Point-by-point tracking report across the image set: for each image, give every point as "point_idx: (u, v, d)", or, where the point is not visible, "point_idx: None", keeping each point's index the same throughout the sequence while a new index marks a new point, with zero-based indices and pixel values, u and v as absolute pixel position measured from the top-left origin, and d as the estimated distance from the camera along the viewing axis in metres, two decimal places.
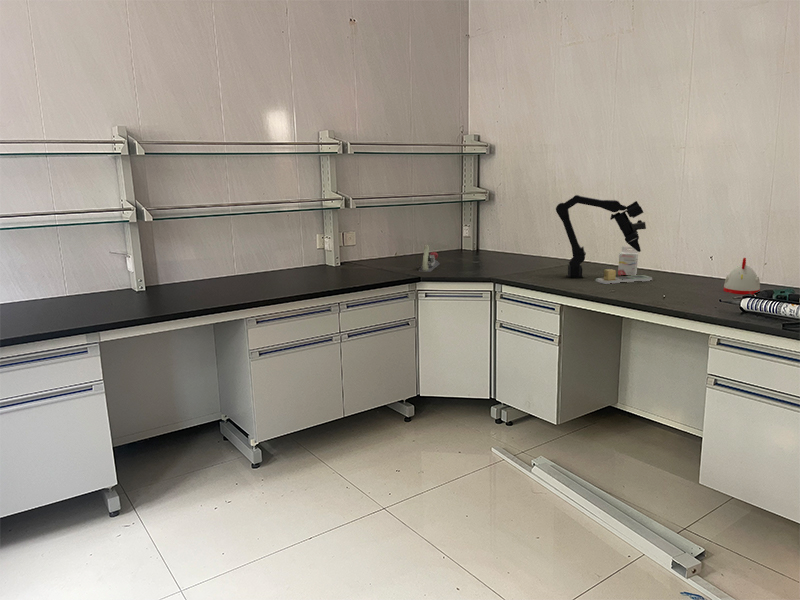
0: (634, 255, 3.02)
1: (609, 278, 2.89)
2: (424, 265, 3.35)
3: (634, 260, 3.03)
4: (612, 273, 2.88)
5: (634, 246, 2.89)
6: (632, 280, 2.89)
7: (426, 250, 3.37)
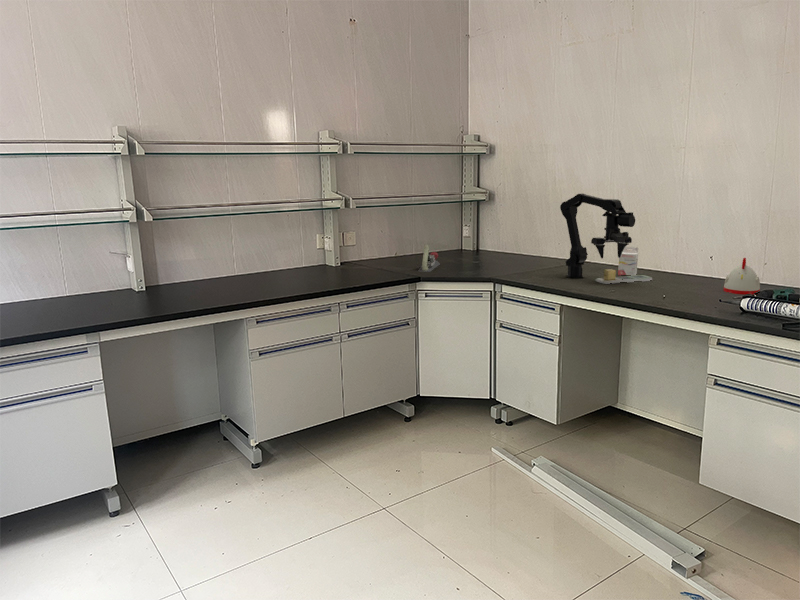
0: (634, 255, 3.02)
1: (609, 278, 2.89)
2: (424, 265, 3.34)
3: (634, 260, 3.03)
4: (612, 273, 2.88)
5: (599, 250, 2.88)
6: (632, 280, 2.89)
7: (426, 250, 3.37)
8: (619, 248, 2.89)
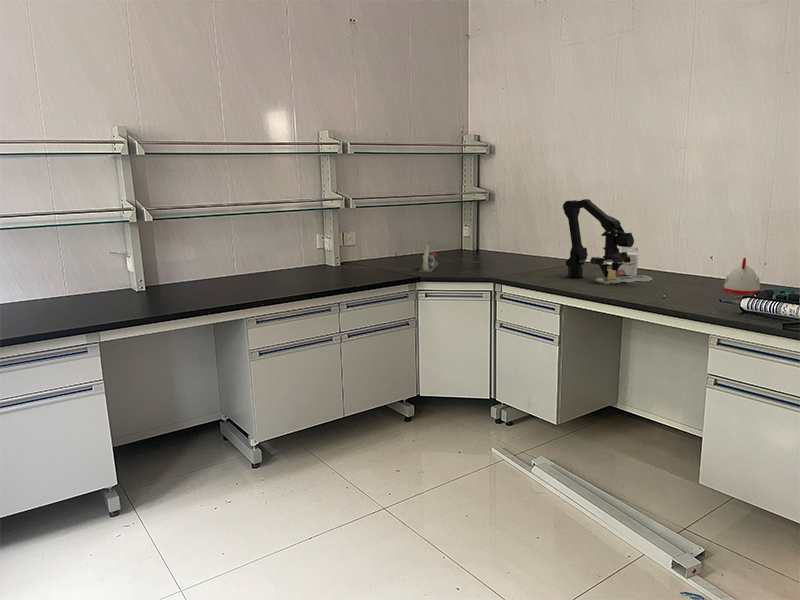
0: (634, 255, 3.02)
1: (609, 278, 2.89)
2: (424, 265, 3.34)
3: (634, 260, 3.03)
4: (612, 273, 2.88)
5: (602, 270, 2.90)
6: (632, 280, 2.89)
7: (426, 250, 3.36)
8: (614, 268, 2.91)
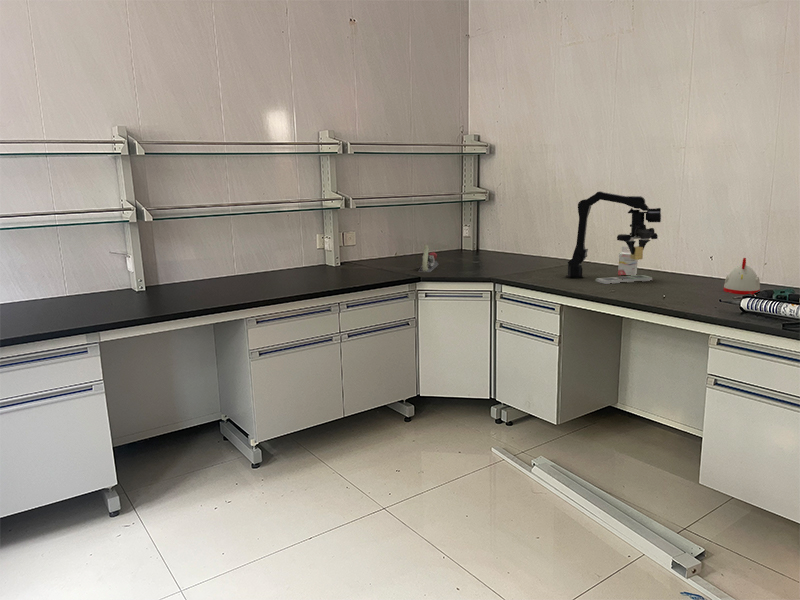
0: None
1: (636, 255, 2.89)
2: (424, 265, 3.33)
3: (634, 260, 3.03)
4: (639, 249, 2.88)
5: (629, 247, 2.90)
6: (632, 280, 2.89)
7: (426, 250, 3.35)
8: (640, 245, 2.91)
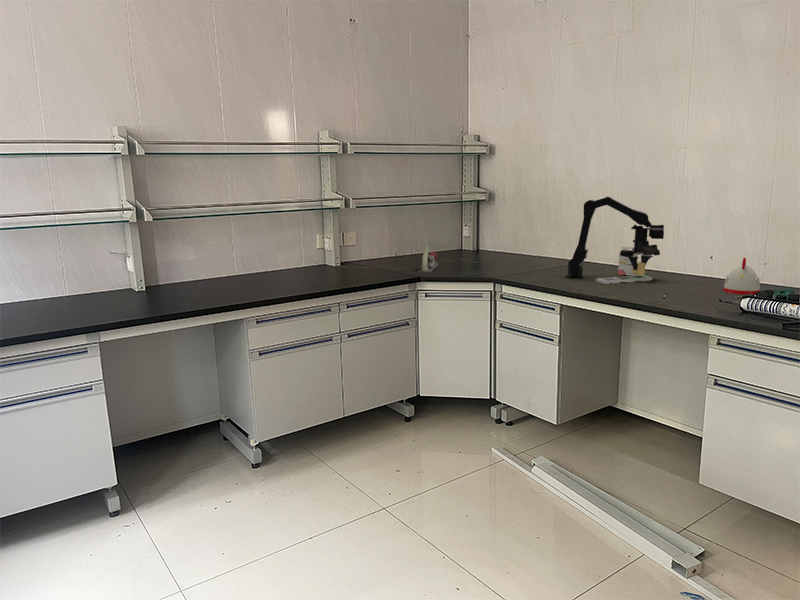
0: None
1: (639, 270, 2.91)
2: (424, 266, 3.32)
3: None
4: (642, 265, 2.91)
5: (631, 262, 2.93)
6: (632, 280, 2.89)
7: (425, 251, 3.35)
8: (643, 260, 2.93)
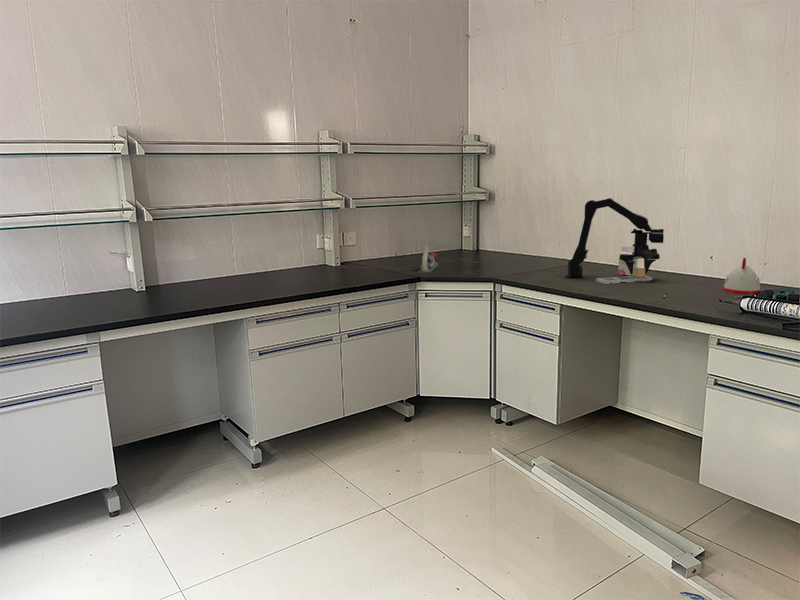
0: None
1: (638, 276, 2.92)
2: (423, 266, 3.32)
3: (634, 260, 3.03)
4: (641, 271, 2.92)
5: (628, 266, 2.93)
6: (632, 280, 2.89)
7: (425, 251, 3.34)
8: (646, 264, 2.94)
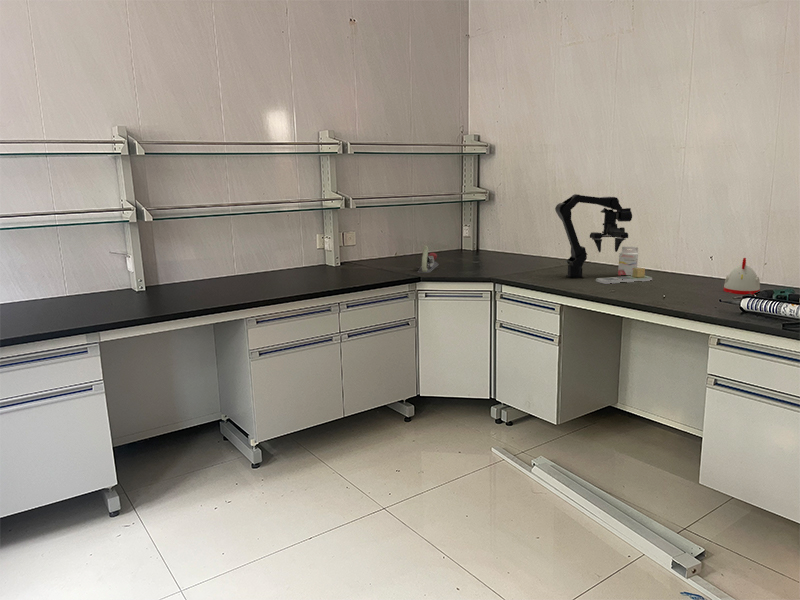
0: (634, 255, 3.02)
1: (638, 276, 2.92)
2: (423, 266, 3.31)
3: (634, 260, 3.03)
4: (641, 271, 2.92)
5: (596, 245, 3.04)
6: (632, 280, 2.89)
7: (425, 251, 3.34)
8: (616, 243, 3.05)
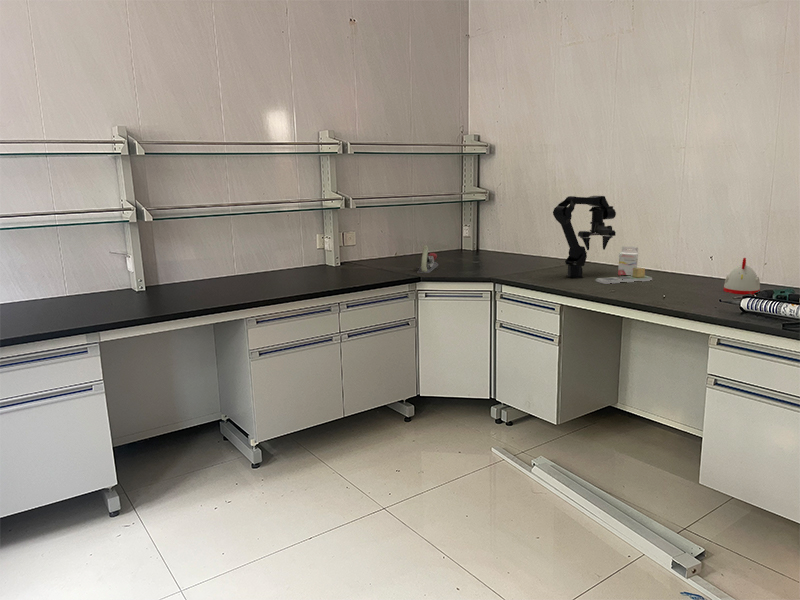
0: (634, 255, 3.02)
1: (638, 276, 2.92)
2: (423, 266, 3.30)
3: (634, 260, 3.03)
4: (641, 271, 2.92)
5: (585, 243, 3.09)
6: (632, 280, 2.89)
7: (425, 251, 3.33)
8: (604, 241, 3.11)
